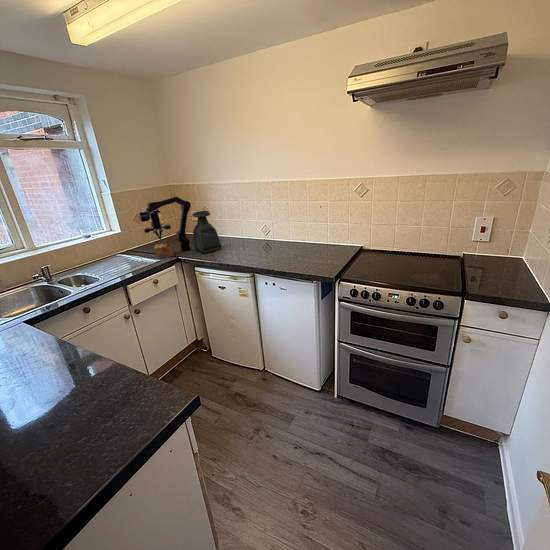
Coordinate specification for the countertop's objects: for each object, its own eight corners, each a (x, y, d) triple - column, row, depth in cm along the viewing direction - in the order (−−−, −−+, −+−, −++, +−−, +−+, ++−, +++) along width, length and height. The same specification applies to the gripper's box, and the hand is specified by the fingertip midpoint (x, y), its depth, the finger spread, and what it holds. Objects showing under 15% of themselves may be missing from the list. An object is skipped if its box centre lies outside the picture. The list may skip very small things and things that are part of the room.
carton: (157, 259, 226) (154, 249, 223) (157, 255, 237) (155, 246, 234) (174, 255, 230) (172, 246, 227) (174, 251, 240) (172, 243, 238)
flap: (154, 249, 223) (154, 248, 223) (155, 245, 234) (154, 245, 234) (163, 247, 225) (163, 246, 225) (163, 243, 236) (163, 243, 236)
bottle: (222, 249, 231) (215, 211, 220) (202, 255, 223) (194, 215, 212) (213, 246, 245) (206, 209, 234) (194, 250, 237) (186, 213, 226)
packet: (166, 244, 233) (162, 245, 232) (166, 245, 229) (162, 246, 228) (168, 253, 236) (165, 254, 235) (168, 255, 232) (165, 255, 231)
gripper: (168, 215, 232) (172, 235, 238) (142, 219, 227) (148, 239, 233) (168, 217, 222) (173, 238, 228) (141, 222, 217) (147, 242, 223)
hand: (160, 239), depth 228 cm, fingers closed
